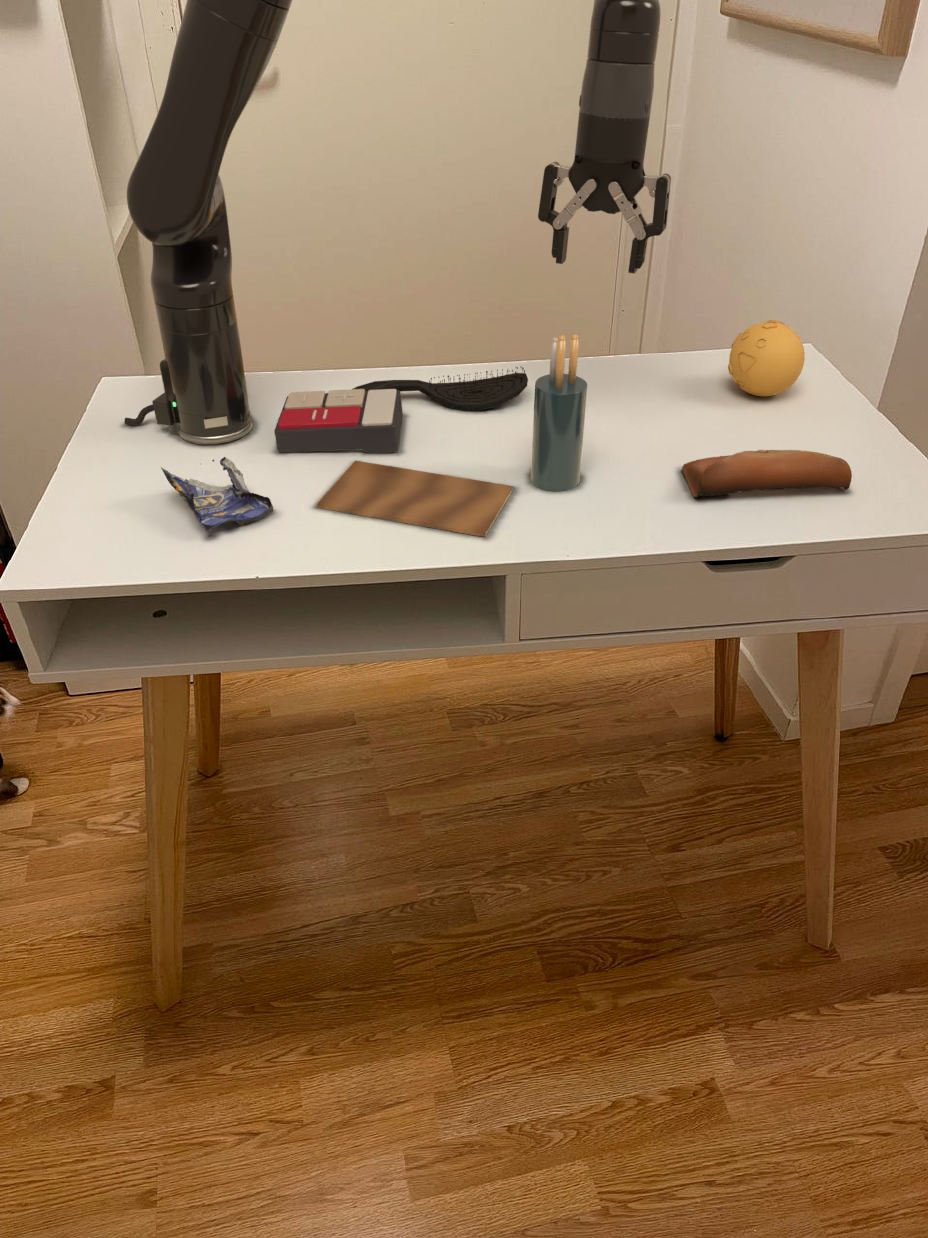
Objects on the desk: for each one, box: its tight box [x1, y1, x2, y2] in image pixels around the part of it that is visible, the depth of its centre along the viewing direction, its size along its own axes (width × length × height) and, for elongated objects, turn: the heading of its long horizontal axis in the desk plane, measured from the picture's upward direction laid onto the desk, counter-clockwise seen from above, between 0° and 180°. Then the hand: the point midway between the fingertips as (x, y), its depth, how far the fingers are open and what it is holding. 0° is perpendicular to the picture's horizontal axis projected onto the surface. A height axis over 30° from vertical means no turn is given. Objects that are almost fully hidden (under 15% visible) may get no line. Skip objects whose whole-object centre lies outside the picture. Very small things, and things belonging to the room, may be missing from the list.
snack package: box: [160, 456, 274, 538], centre depth 107 cm, size 12×6×12 cm
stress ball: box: [727, 319, 806, 397], centre depth 131 cm, size 10×10×10 cm
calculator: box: [274, 388, 404, 454], centre depth 123 cm, size 11×4×15 cm
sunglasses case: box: [681, 449, 853, 498], centre depth 113 cm, size 18×7×7 cm, turn 96°
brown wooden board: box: [316, 460, 514, 538], centre depth 111 cm, size 20×11×1 cm, turn 72°
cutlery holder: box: [530, 333, 588, 492], centre depth 109 cm, size 6×6×18 cm
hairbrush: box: [352, 365, 529, 412], centre depth 132 cm, size 8×4×25 cm
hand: (596, 266), depth 111 cm, fingers open, 8 cm apart
